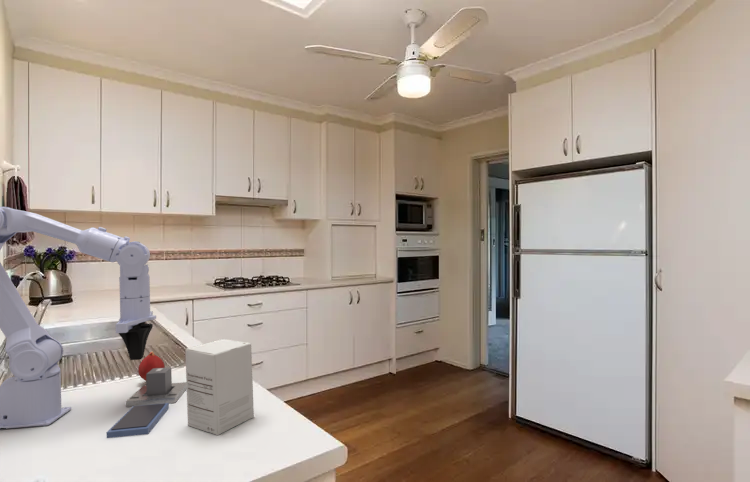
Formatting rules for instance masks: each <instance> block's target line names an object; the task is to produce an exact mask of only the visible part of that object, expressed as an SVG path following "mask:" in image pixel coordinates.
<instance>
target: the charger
mask: <svg viewBox="0 0 750 482" xmlns="http://www.w3.org/2000/svg"><path fill="white" fill-rule="evenodd" d="M145 382H146V386H147V396H154V395H167V394H168V393H169V392H170V391H171V390H172V383H173V381H172V367H165V368H153V369H152V370H151V371H149V372H148V373H147V374H146V381H145Z"/></svg>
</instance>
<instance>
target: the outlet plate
mask: <svg viewBox="0 0 750 482" xmlns="http://www.w3.org/2000/svg"><path fill="white" fill-rule="evenodd" d="M185 391H187V383H186V381H183V382H172V390H171V391H170V392H169V393H168V394H167V395H154V396H147V386H146V385H142V386H141V387H140V388H139V389H138V390H136V391H135V393H133V394H132V396H130V397H129V398H128V399H127V400H125V407H126V408H127V407H130V408H131V407H133V406H141V405H152V404H163V403H169V404H176V403H177V401H178V400H179V399H180V398H181V397H182V395H183V394H184V393H185Z"/></svg>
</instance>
